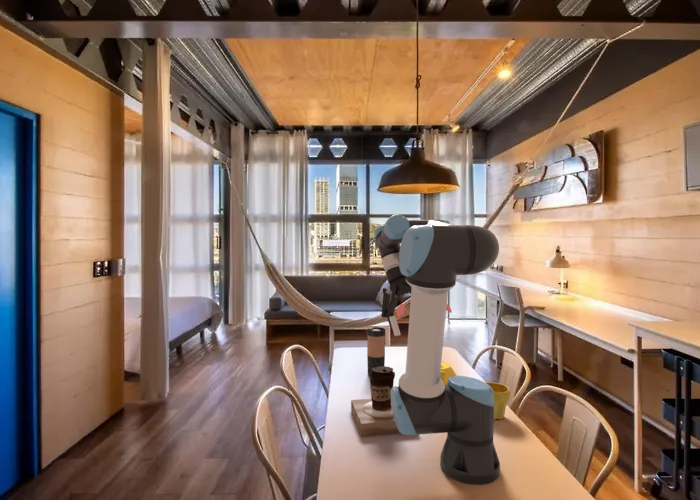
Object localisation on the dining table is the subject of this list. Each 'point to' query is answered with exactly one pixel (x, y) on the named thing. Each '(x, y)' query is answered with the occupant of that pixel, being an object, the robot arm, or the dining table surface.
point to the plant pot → (499, 398)
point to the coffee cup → (381, 387)
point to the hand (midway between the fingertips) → (414, 329)
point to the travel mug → (375, 348)
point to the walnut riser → (372, 419)
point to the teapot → (446, 372)
